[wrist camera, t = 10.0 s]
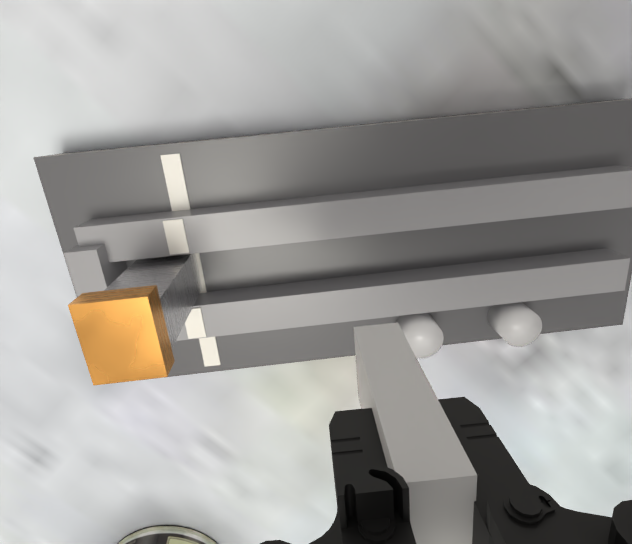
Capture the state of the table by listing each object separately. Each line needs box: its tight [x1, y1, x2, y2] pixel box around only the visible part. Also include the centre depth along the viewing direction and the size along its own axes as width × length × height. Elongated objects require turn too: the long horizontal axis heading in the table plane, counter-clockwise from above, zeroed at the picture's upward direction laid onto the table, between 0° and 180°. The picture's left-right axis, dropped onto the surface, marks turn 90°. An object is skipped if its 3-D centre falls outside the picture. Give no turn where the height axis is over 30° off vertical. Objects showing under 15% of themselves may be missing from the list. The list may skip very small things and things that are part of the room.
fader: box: [68, 253, 202, 385], centre depth 20 cm, size 3×4×8 cm
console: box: [34, 99, 632, 384], centre depth 25 cm, size 34×14×6 cm, turn 95°
